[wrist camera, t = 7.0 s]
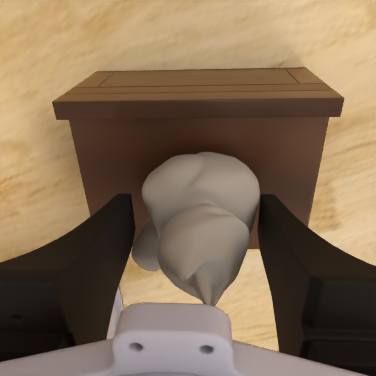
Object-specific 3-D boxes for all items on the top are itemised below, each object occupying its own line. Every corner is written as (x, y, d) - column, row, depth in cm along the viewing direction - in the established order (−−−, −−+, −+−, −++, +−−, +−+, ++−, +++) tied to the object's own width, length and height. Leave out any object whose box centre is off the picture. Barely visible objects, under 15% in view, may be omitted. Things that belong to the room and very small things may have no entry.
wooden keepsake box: (286, 202, 23) (309, 265, 18) (117, 201, 24) (90, 261, 18) (305, 67, 18) (345, 97, 13) (95, 71, 19) (51, 101, 14)
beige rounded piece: (278, 191, 17) (326, 328, 10) (180, 250, 19) (164, 394, 12) (213, 110, 15) (217, 211, 8) (113, 187, 17) (50, 316, 10)
